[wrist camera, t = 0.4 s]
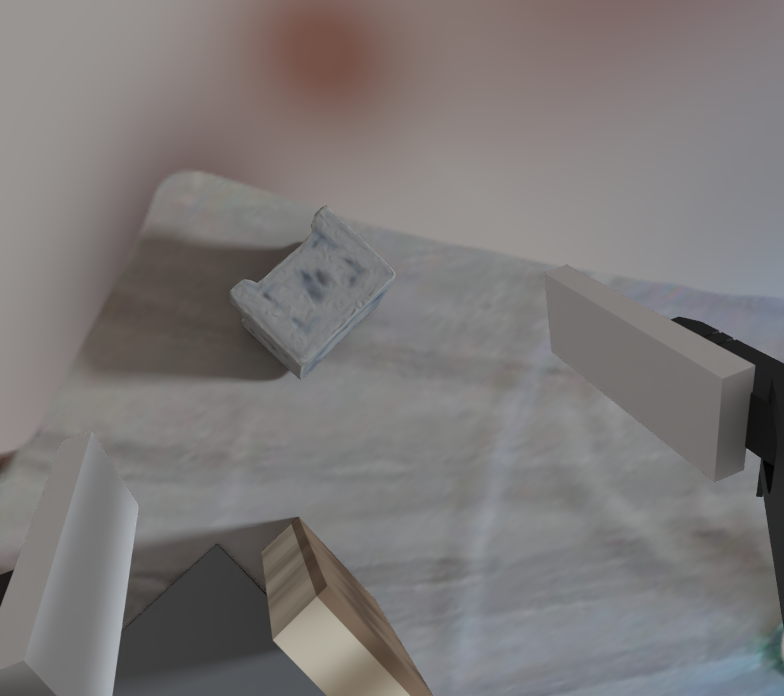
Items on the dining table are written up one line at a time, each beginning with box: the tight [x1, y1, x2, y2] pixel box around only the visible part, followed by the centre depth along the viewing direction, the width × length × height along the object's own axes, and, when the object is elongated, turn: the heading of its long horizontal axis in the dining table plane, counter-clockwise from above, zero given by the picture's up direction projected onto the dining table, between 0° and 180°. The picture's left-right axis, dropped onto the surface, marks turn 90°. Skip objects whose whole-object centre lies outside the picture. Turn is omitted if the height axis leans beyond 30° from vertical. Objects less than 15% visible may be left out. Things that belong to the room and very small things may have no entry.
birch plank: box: [262, 517, 433, 696], centre depth 40 cm, size 10×4×16 cm, turn 43°
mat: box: [112, 544, 327, 696], centre depth 45 cm, size 16×16×1 cm
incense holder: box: [229, 205, 396, 380], centre depth 43 cm, size 10×8×10 cm
